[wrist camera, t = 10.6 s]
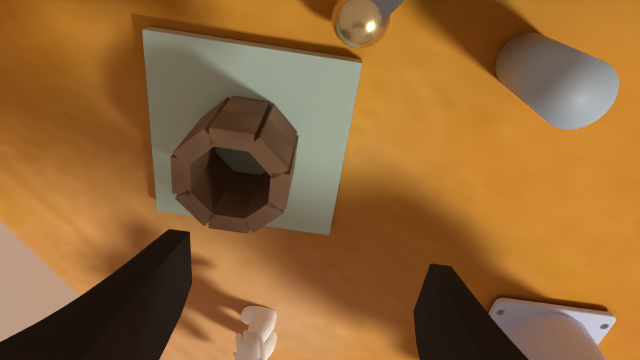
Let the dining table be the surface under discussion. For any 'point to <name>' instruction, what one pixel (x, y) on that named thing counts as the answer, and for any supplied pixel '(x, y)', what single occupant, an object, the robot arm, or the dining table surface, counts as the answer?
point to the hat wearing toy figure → (256, 334)
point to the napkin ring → (227, 185)
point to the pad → (258, 83)
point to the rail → (362, 20)
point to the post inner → (557, 80)
